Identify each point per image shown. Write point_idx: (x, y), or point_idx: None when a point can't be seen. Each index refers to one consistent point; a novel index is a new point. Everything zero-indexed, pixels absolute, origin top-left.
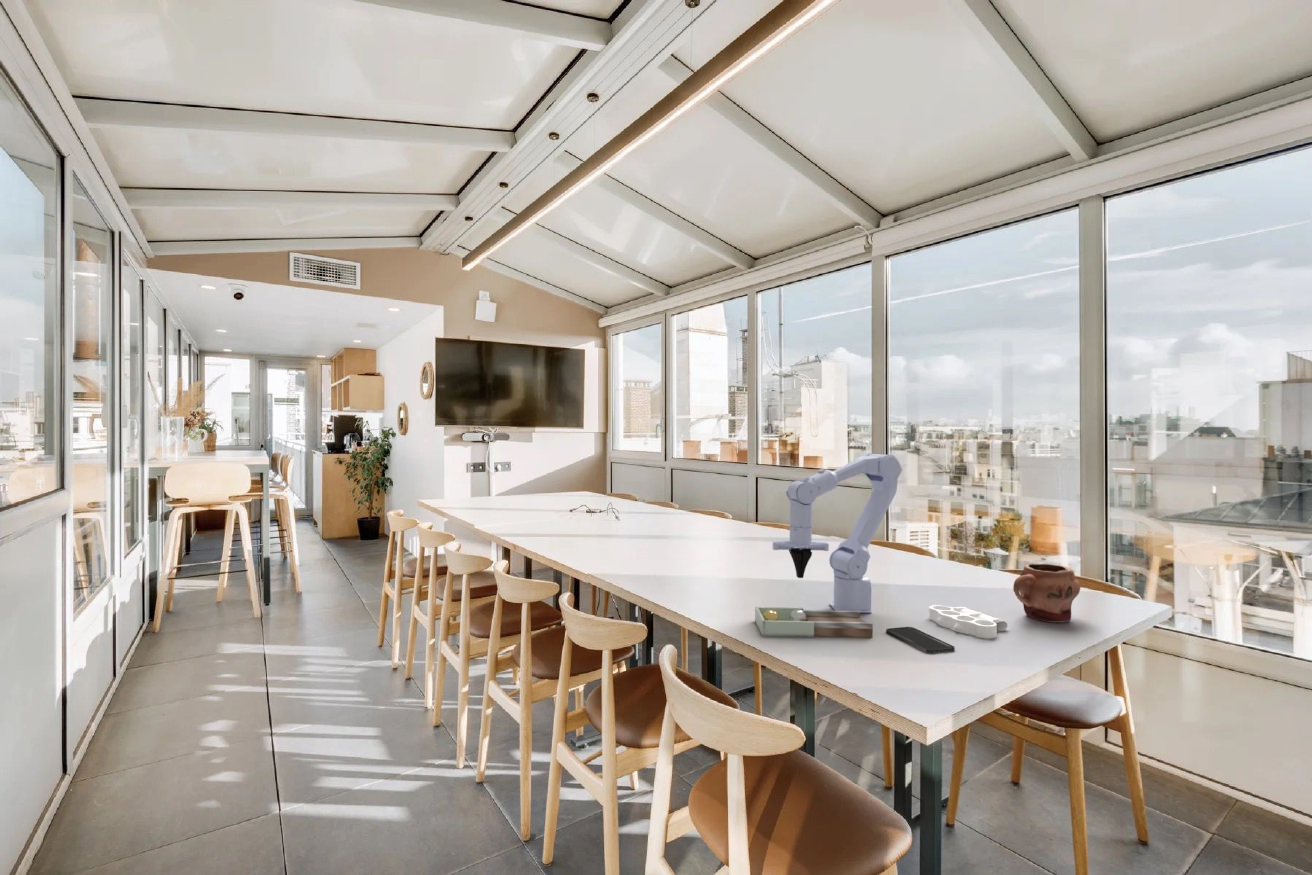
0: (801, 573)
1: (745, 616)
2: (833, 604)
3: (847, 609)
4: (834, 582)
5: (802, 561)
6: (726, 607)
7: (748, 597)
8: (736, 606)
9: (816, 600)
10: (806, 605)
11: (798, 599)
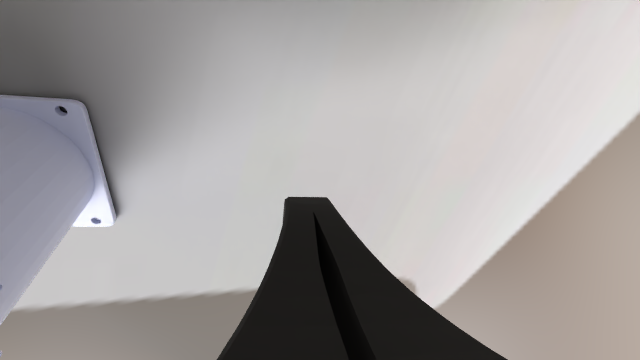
0: (310, 214)
1: (555, 49)
2: (94, 198)
3: (11, 110)
4: (21, 263)
5: (331, 312)
6: (548, 168)
7: (412, 270)
8: (506, 180)
9: (168, 260)
10: (226, 202)
11: (240, 265)
